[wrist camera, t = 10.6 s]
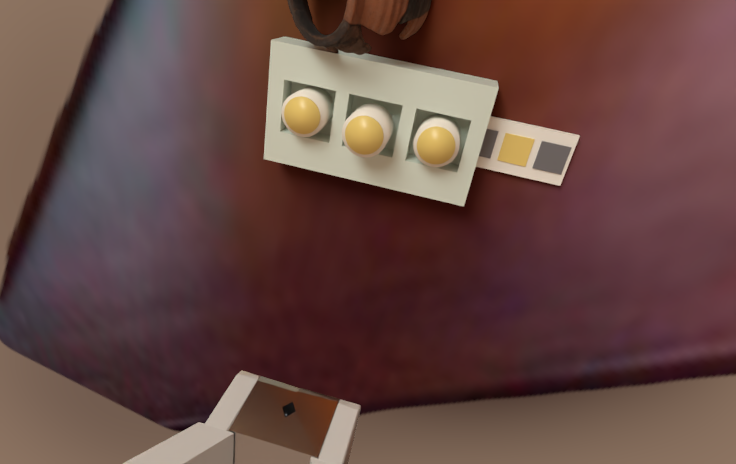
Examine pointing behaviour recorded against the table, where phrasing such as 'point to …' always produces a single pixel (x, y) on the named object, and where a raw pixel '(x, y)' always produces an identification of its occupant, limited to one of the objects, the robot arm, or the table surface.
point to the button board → (395, 93)
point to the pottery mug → (362, 22)
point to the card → (526, 150)
